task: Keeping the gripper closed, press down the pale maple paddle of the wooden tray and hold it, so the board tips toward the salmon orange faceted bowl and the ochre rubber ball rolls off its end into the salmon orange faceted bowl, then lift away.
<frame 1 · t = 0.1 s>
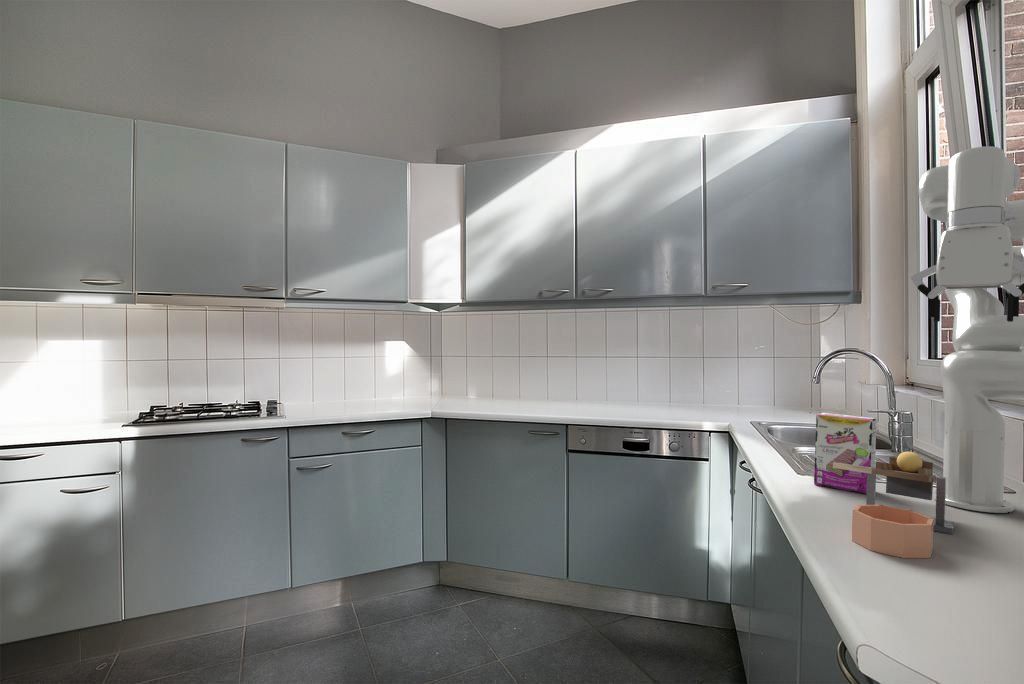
hand: (972, 321, 94), 37 cm above the countertop, tool pointing down, fingers open, 9 cm apart
wooden tray: (885, 474, 102), point 8 cm above the countertop, hinge at -10.0°, touching ball
salmon orange faceted bowl: (891, 545, 88), on the countertop
stand: (904, 521, 100), on the countertop
candy bar box: (843, 489, 123), on the countertop
ball: (909, 462, 105), point 10 cm above the countertop, tilted 16°, touching wooden tray
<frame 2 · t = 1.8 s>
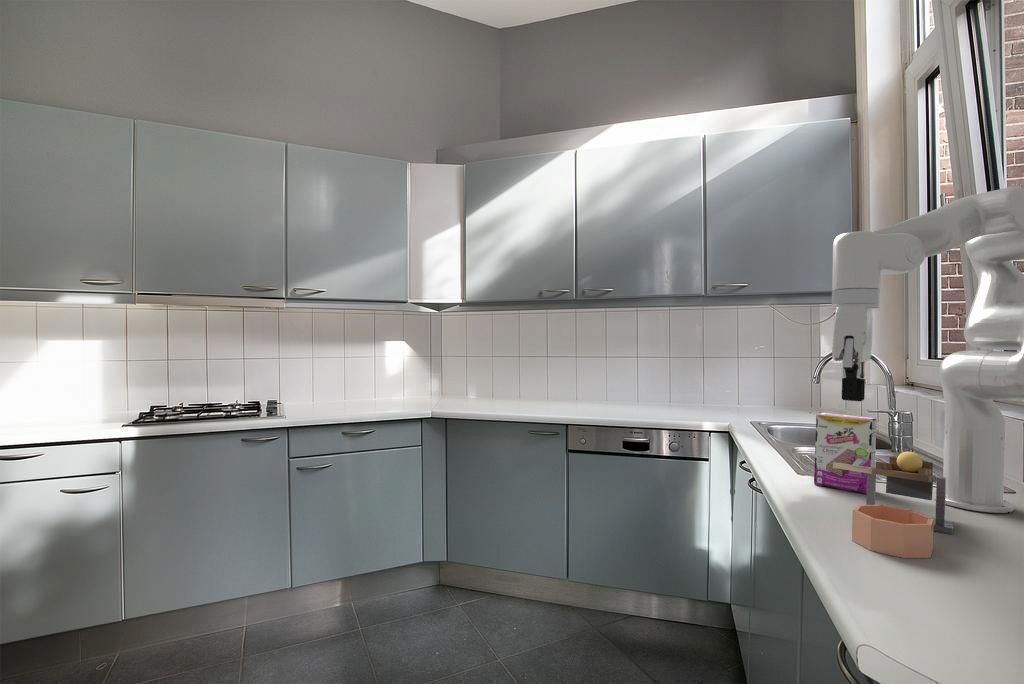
hand: (852, 399, 100), 22 cm above the countertop, tool pointing down, fingers closed
nothing on the countertop moved.
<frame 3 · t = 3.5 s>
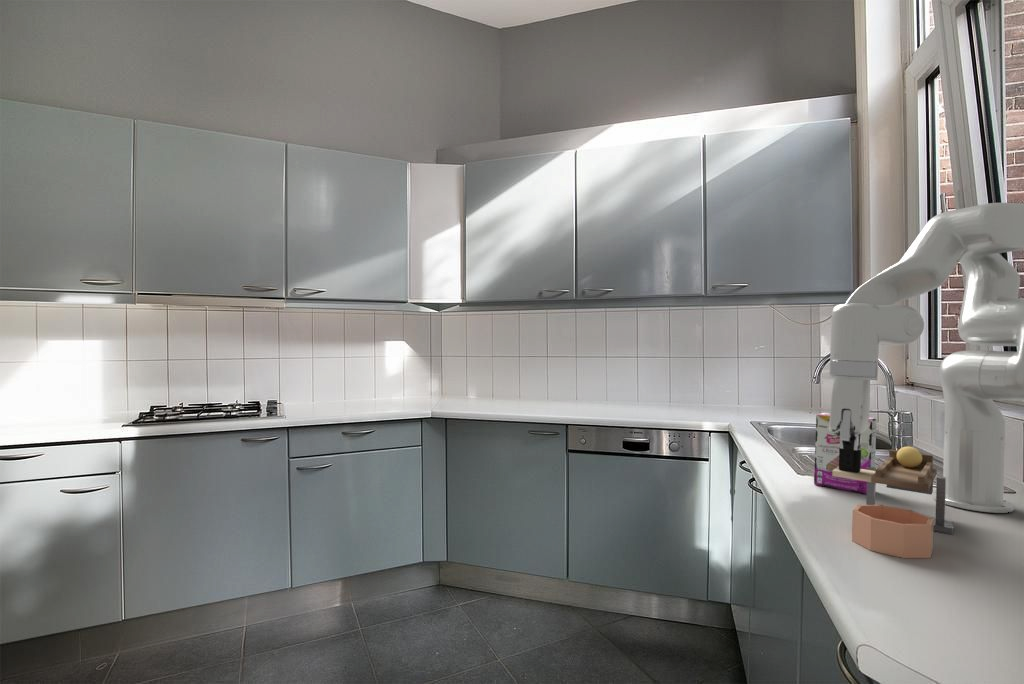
hand: (849, 470, 100), 9 cm above the countertop, tool pointing down, fingers closed
wooden tray: (885, 474, 102), point 8 cm above the countertop, hinge at -0.4°, touching ball, gripper
ball: (909, 457, 105), point 11 cm above the countertop, tilted 7°, touching wooden tray
everything else where it was.
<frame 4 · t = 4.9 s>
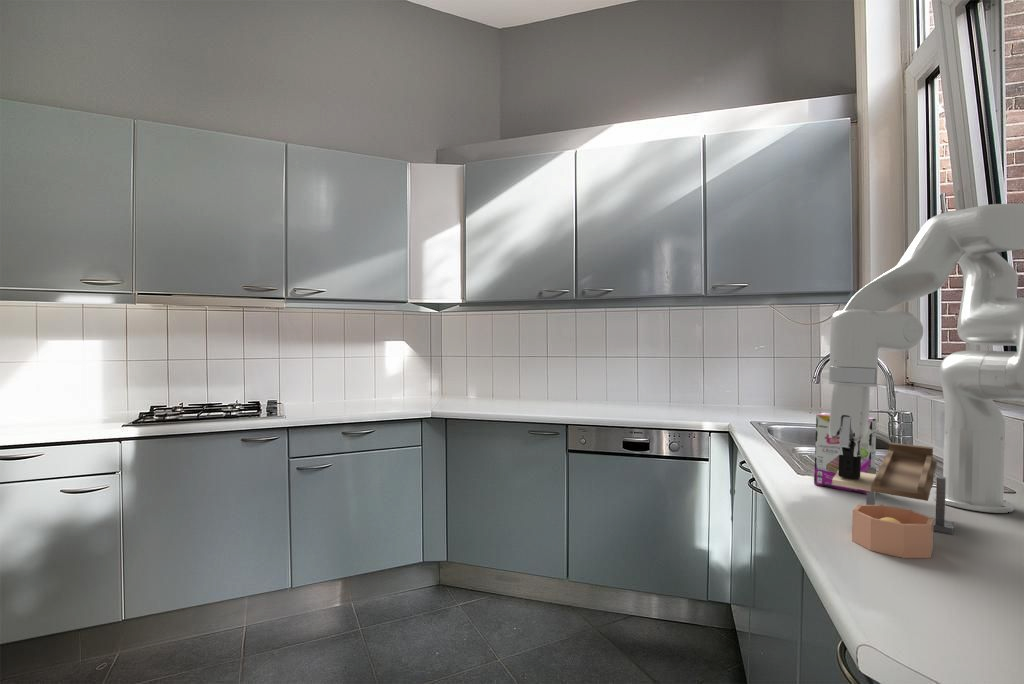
hand: (849, 477, 100), 8 cm above the countertop, tool pointing down, fingers closed
wooden tray: (885, 474, 102), point 8 cm above the countertop, hinge at 10.0°, touching gripper
ball: (889, 530, 86), point 3 cm above the countertop, tilted 61°, touching salmon orange faceted bowl
everything else where it was.
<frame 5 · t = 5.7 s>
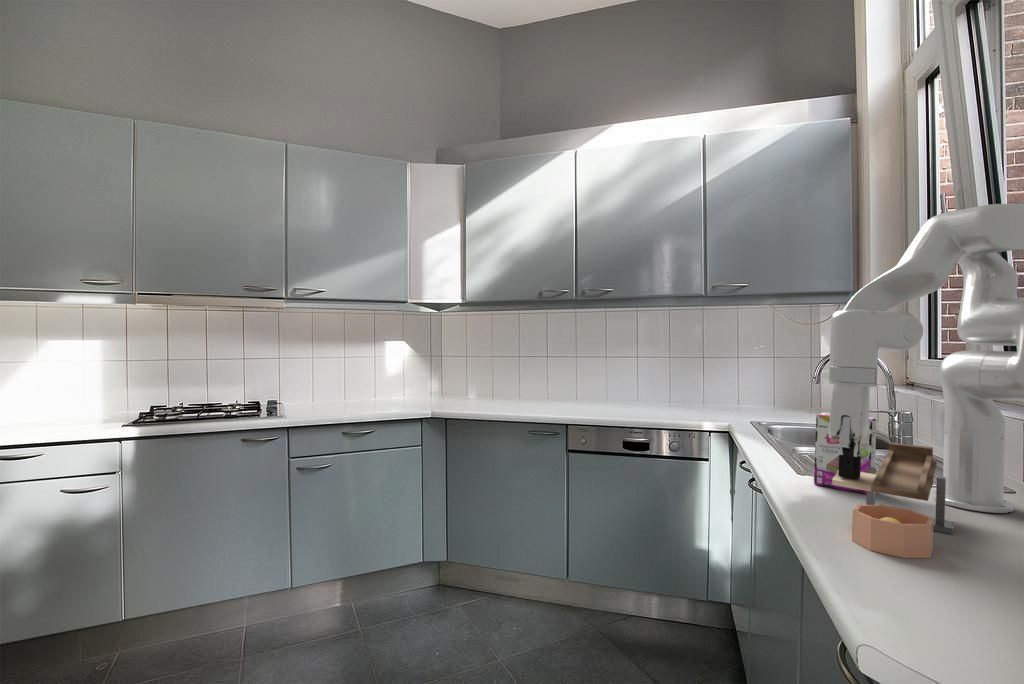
hand: (849, 477, 100), 8 cm above the countertop, tool pointing down, fingers closed
nothing on the countertop moved.
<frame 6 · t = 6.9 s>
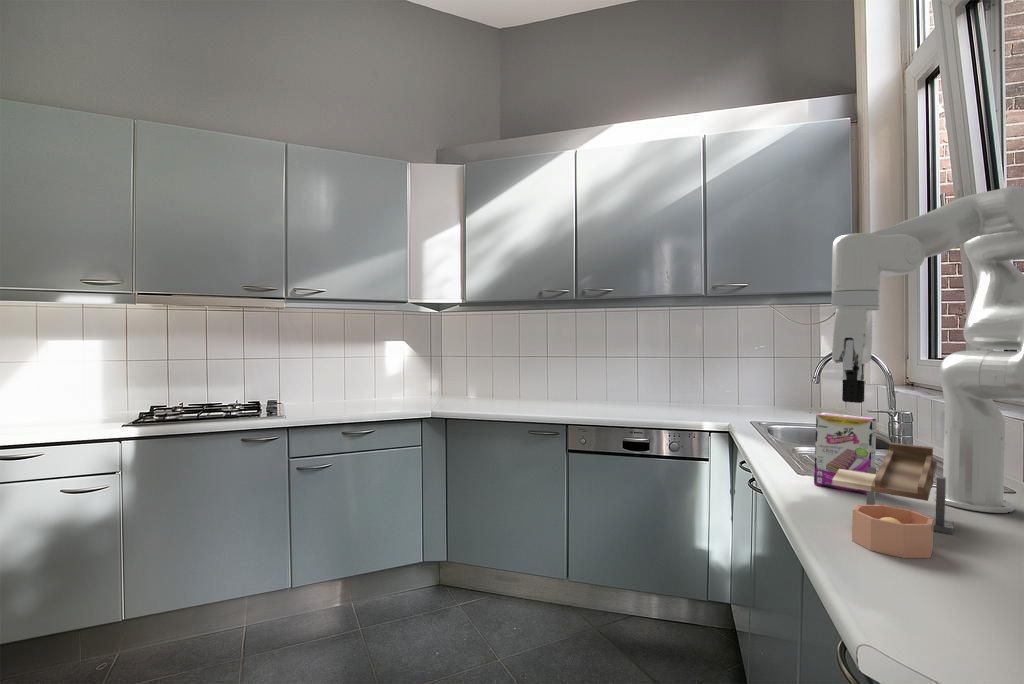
hand: (853, 401, 100), 22 cm above the countertop, tool pointing down, fingers closed
wooden tray: (885, 474, 102), point 8 cm above the countertop, hinge at 10.0°
everything else where it was.
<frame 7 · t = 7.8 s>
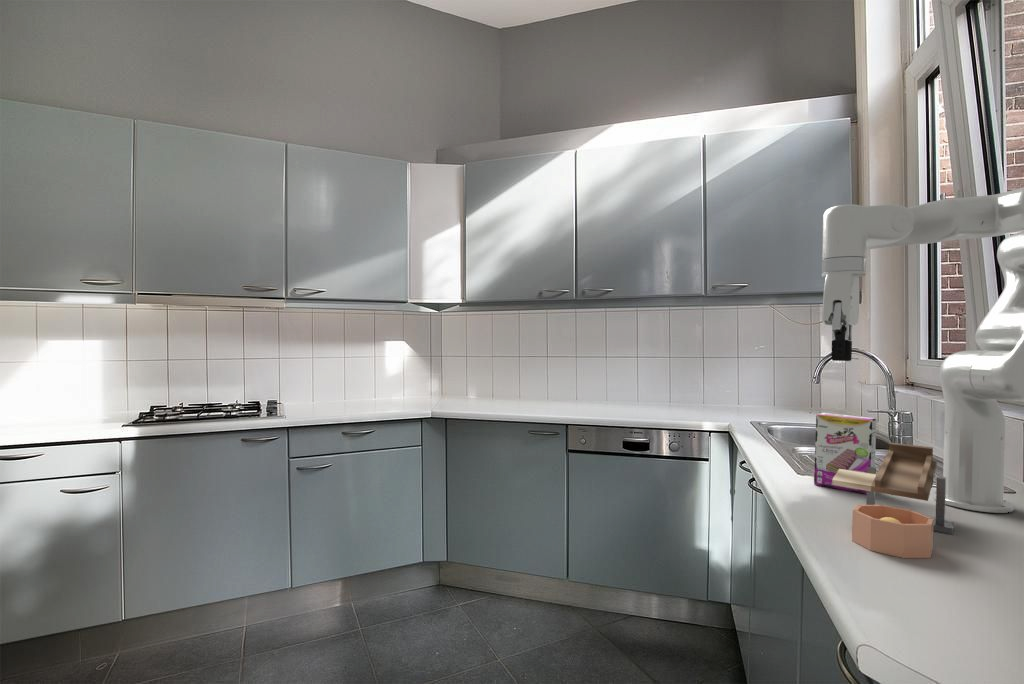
hand: (841, 360, 109), 29 cm above the countertop, tool pointing down, fingers closed
nothing on the countertop moved.
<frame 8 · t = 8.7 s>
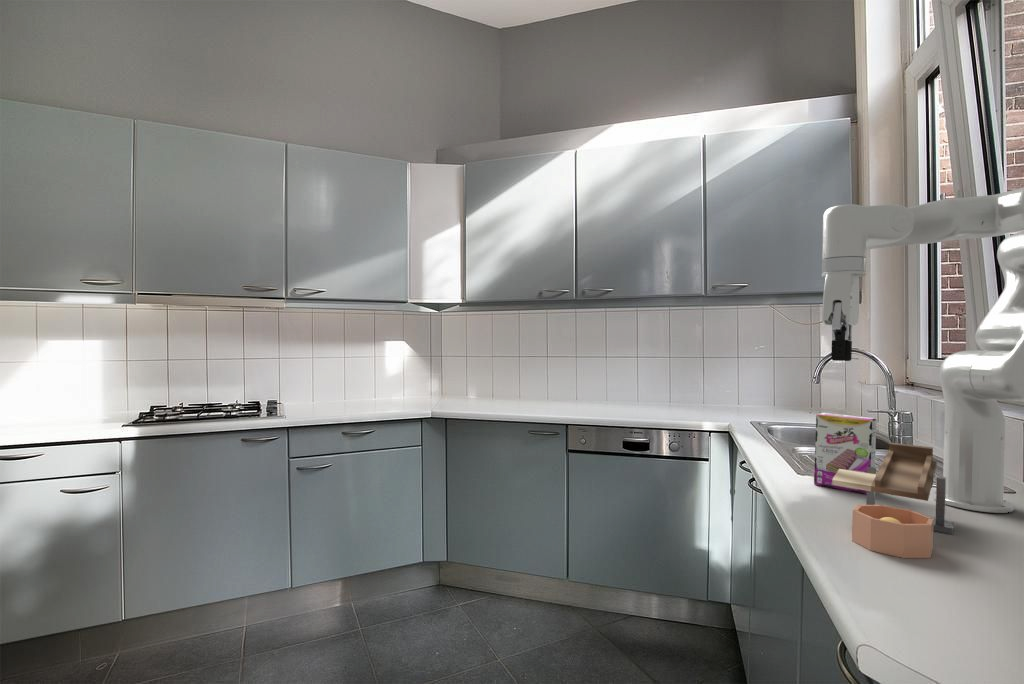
hand: (841, 360, 109), 29 cm above the countertop, tool pointing down, fingers closed
nothing on the countertop moved.
at the end: ball inside the target area on the salmon orange faceted bowl (2.3 cm from its centre), point 3.0 cm above the salmon orange faceted bowl's base; ball moved 25.8 cm from its start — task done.
